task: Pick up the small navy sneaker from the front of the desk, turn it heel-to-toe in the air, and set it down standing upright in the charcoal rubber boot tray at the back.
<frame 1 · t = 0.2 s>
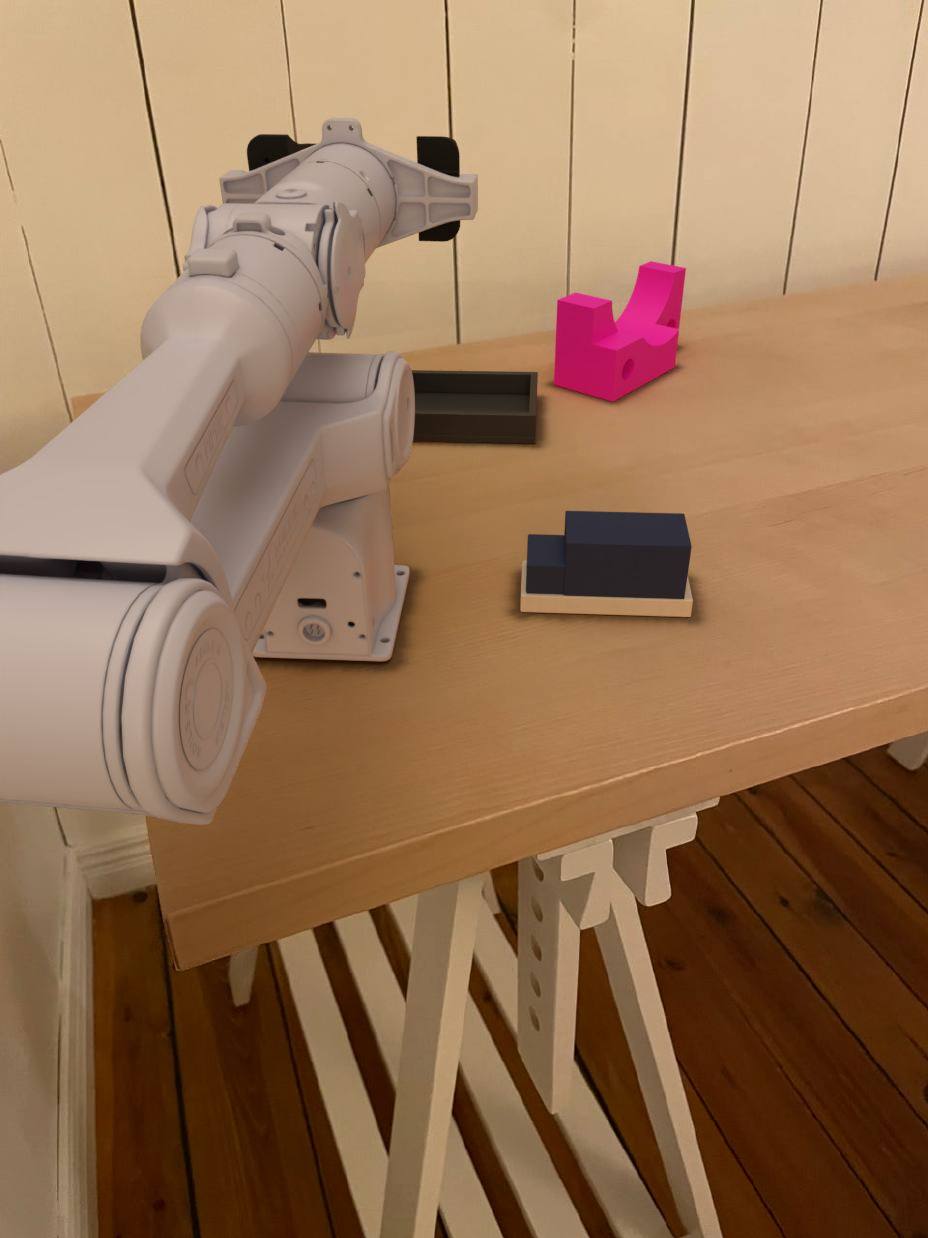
hand: (377, 162, 62), 21 cm above the table, tool horizontal, fingers open, 7 cm apart
boot tray: (444, 418, 81), on the table
toy block: (629, 370, 90), on the table
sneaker: (603, 596, 59), on the table
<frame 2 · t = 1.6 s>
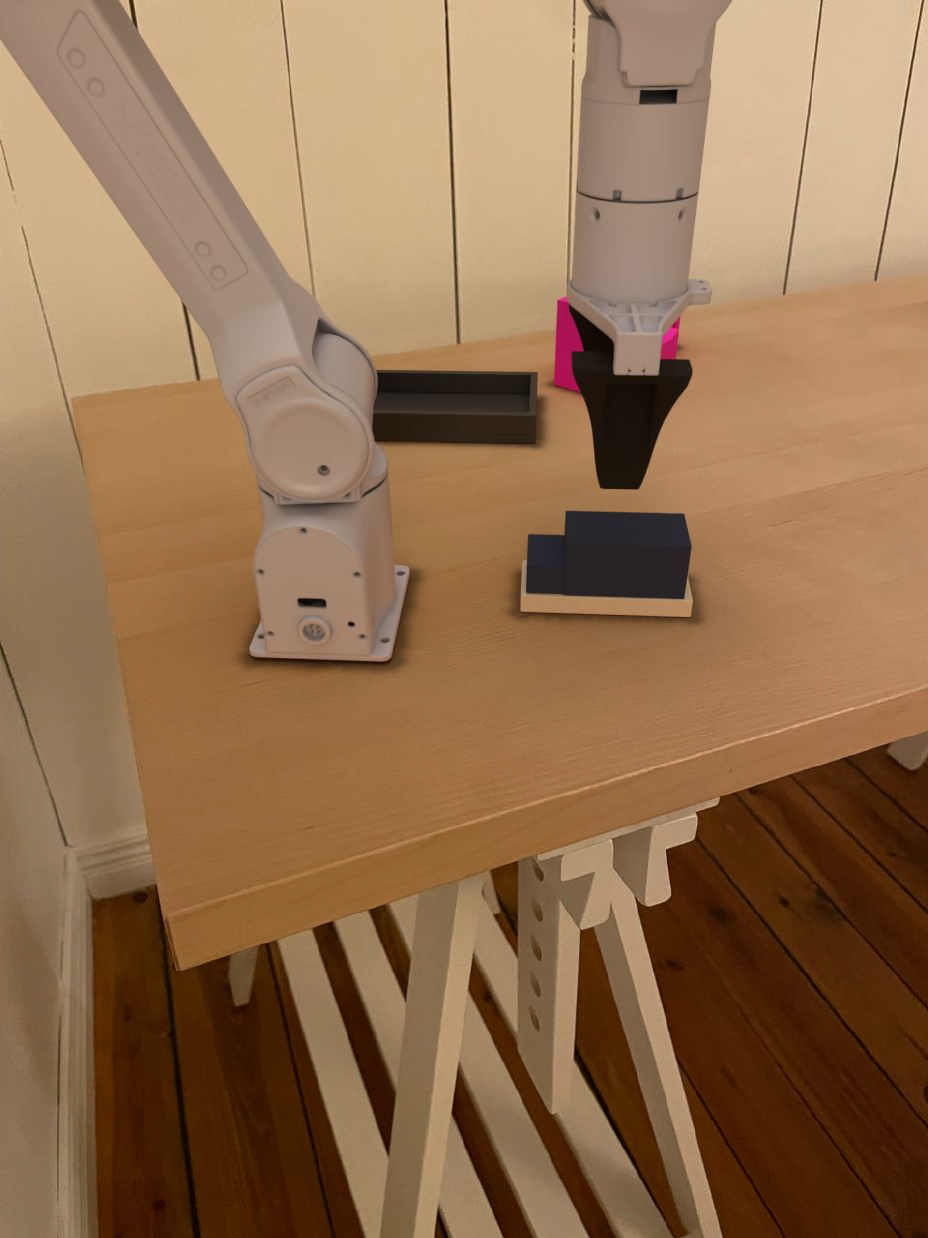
hand: (615, 454, 54), 9 cm above the table, tool pointing down, fingers open, 7 cm apart
nothing on the table moved.
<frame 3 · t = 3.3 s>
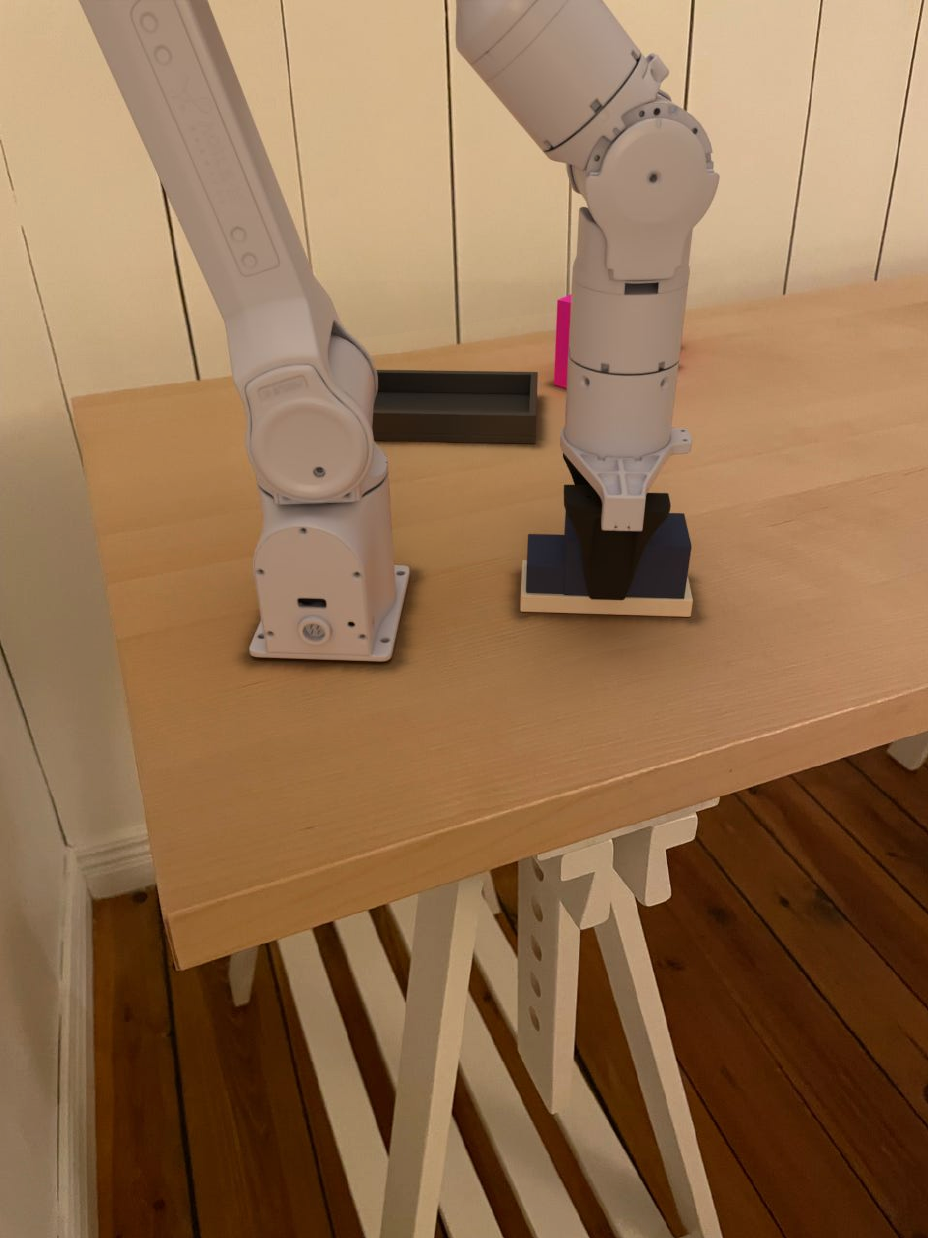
hand: (605, 576, 58), 1 cm above the table, tool pointing down, fingers closed on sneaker, 4 cm apart
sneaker: (603, 595, 59), on the table, touching gripper
everything else where it was.
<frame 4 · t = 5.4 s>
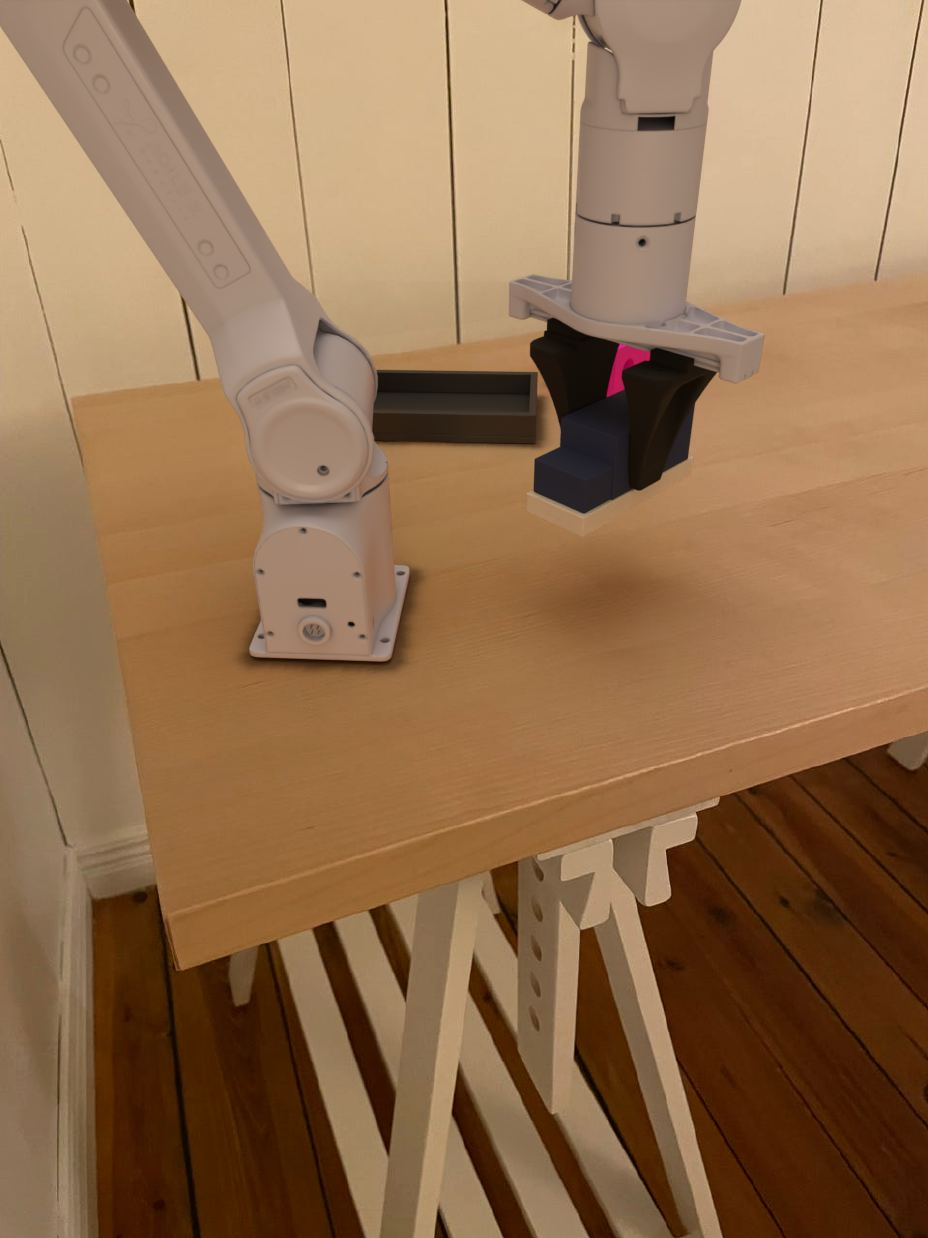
hand: (613, 470, 54), 8 cm above the table, tool pointing down, fingers closed on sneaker, 4 cm apart
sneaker: (611, 493, 55), point 7 cm above the table, touching gripper
everything else where it was.
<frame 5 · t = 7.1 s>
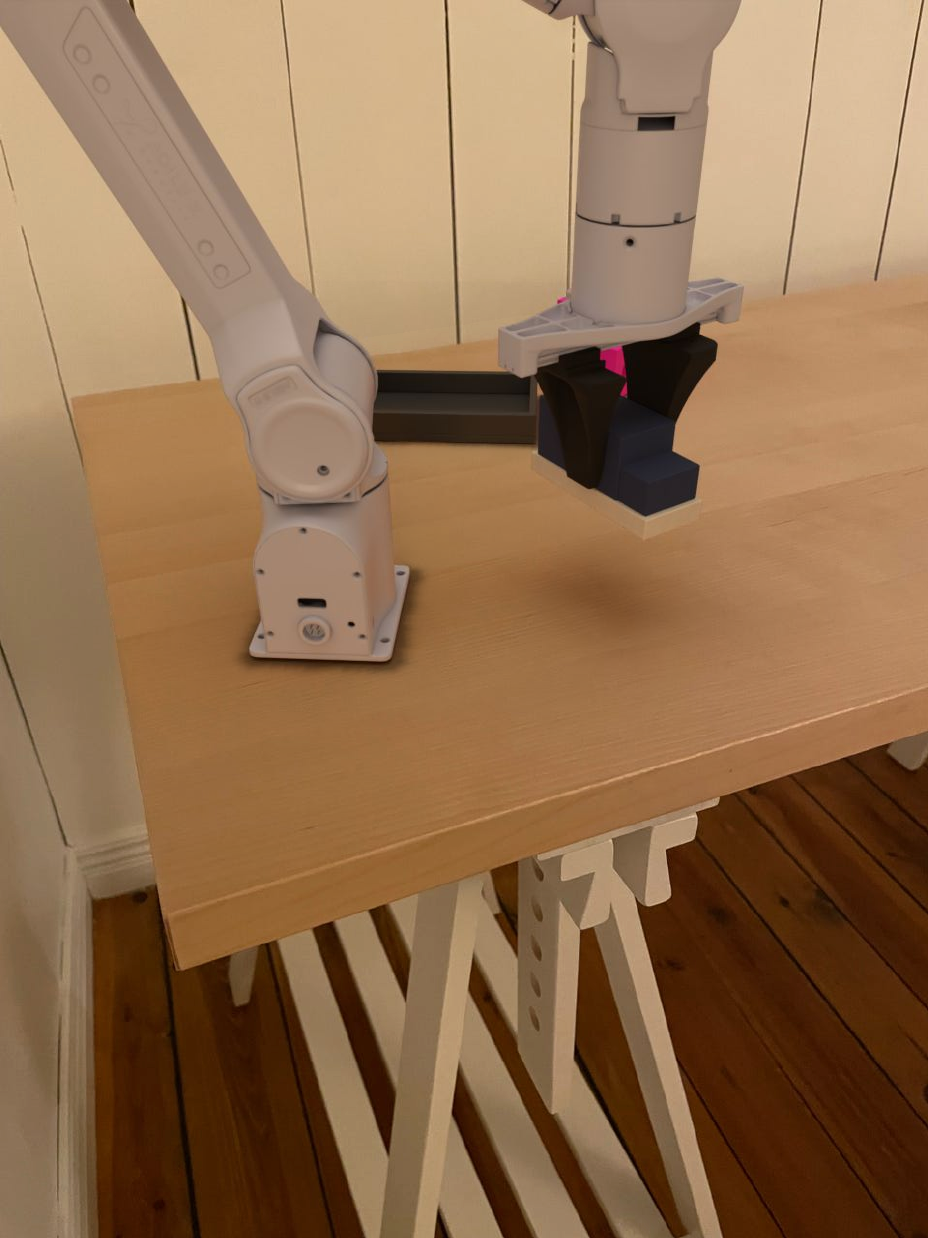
hand: (613, 470, 54), 8 cm above the table, tool pointing down, fingers closed on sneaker, 4 cm apart
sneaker: (611, 493, 55), point 7 cm above the table, touching gripper
everything else where it was.
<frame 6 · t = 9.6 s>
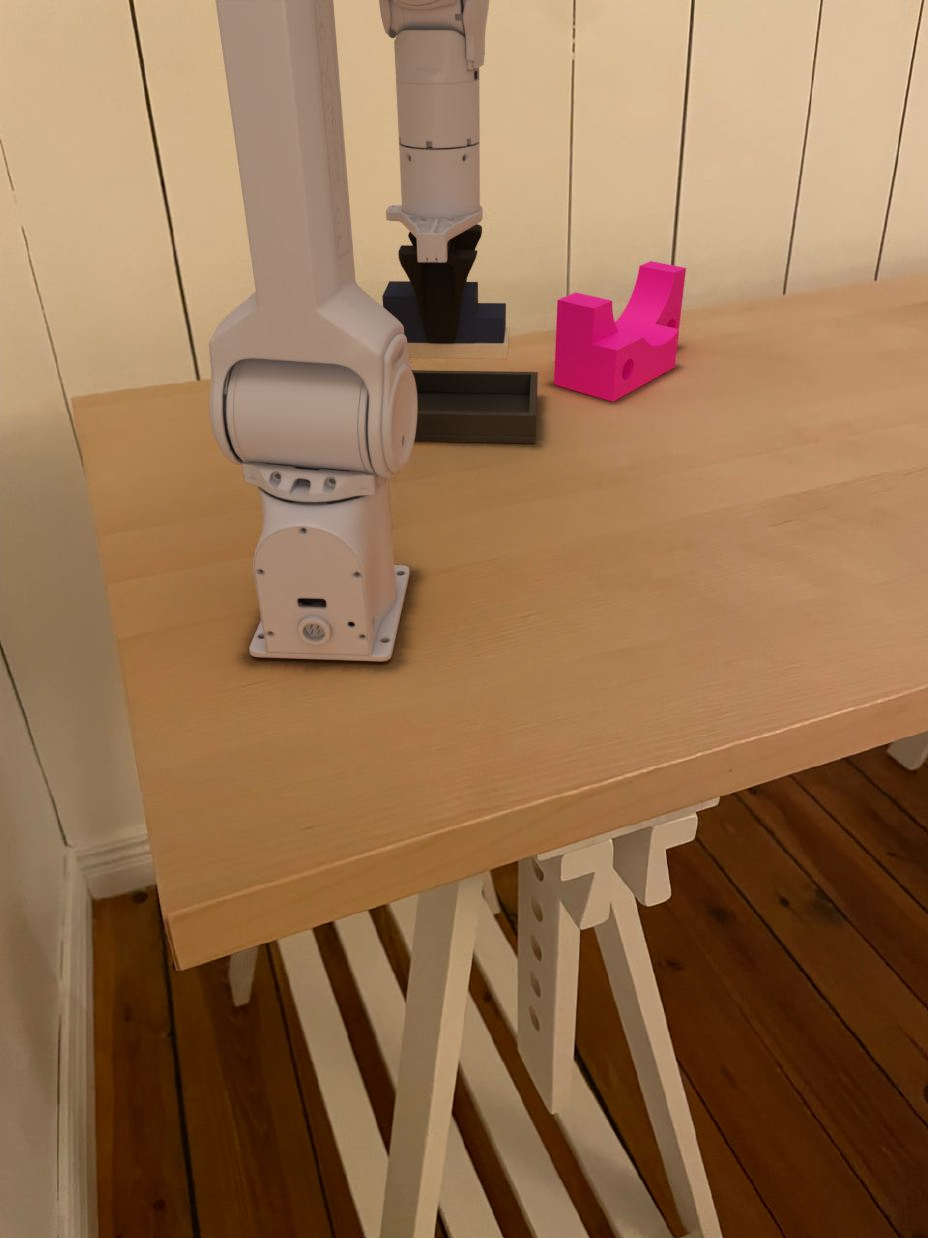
hand: (444, 332, 77), 7 cm above the table, tool pointing down, fingers closed on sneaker, 4 cm apart
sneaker: (445, 349, 77), point 6 cm above the table, touching gripper
everything else where it was.
when the fingers open (2 cm above the table, at t = 11.9 s): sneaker stays where it is, resting on boot tray.
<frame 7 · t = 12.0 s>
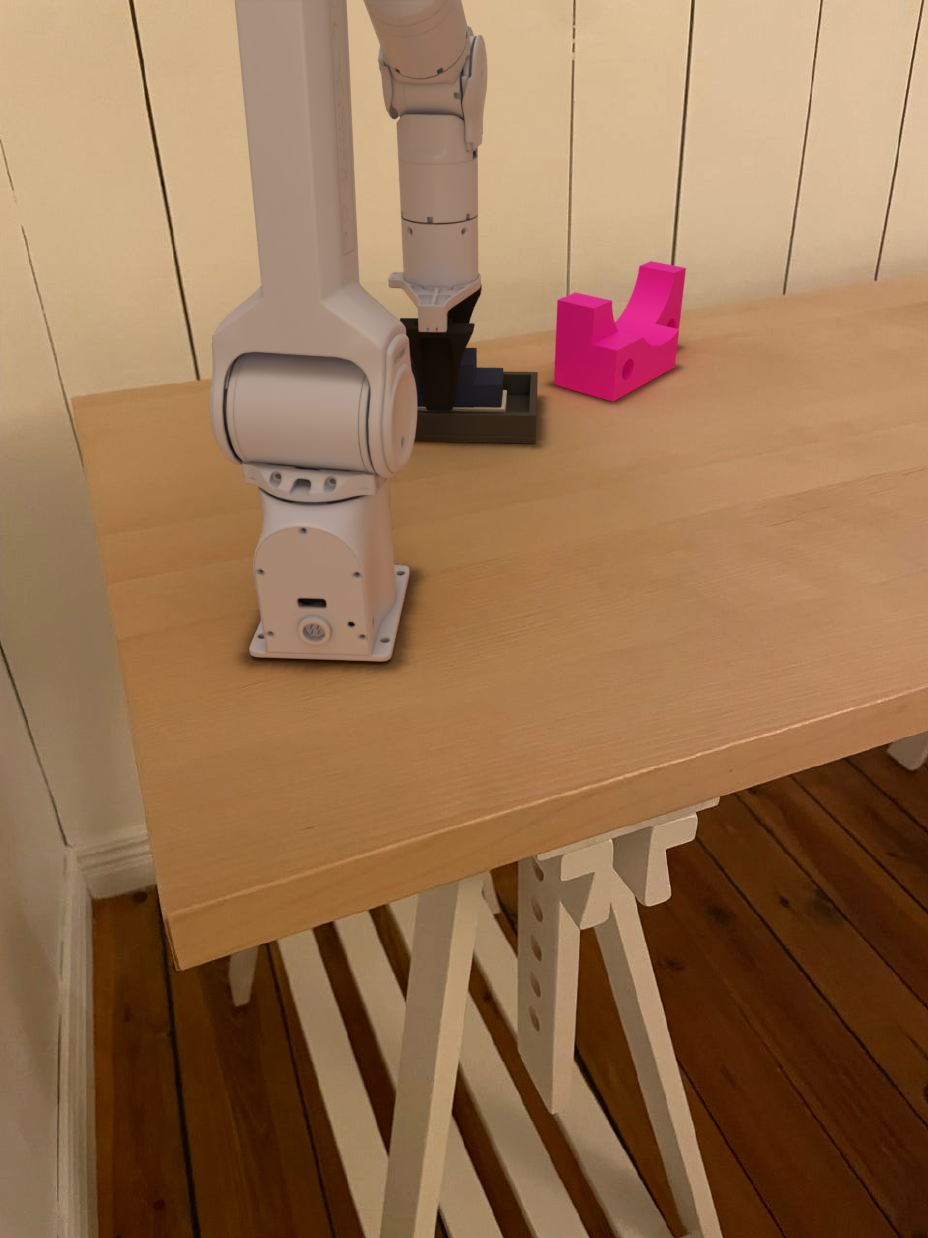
hand: (444, 390, 80), 2 cm above the table, tool pointing down, fingers open, 7 cm apart
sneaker: (445, 411, 81), point 1 cm above the table, touching boot tray
everything else where it was.
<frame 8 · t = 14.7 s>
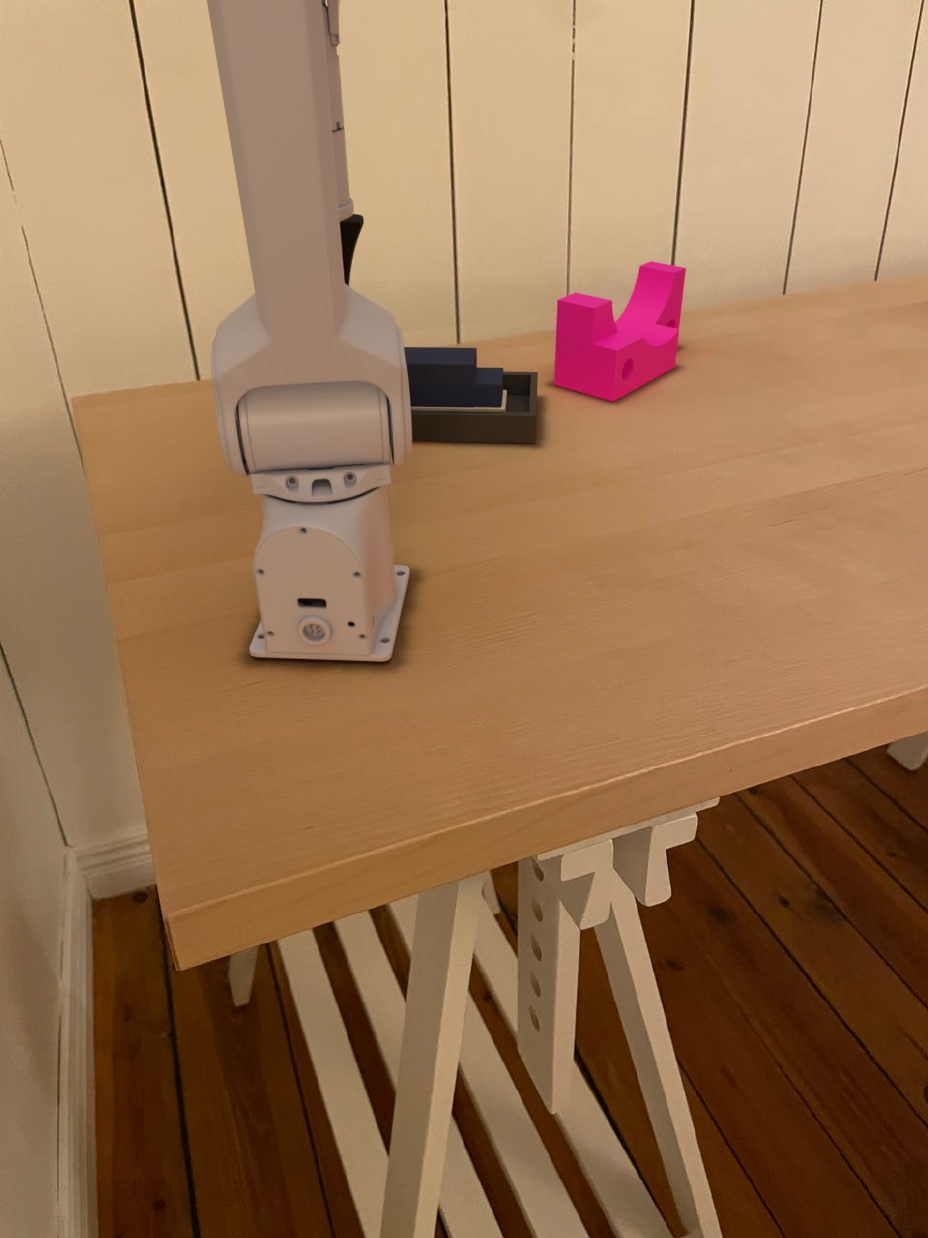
hand: (320, 338, 70), 9 cm above the table, tool pointing down, fingers open, 7 cm apart
nothing on the table moved.
at the end: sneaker inside the target area in the boot tray (0.1 cm from its centre), point 0.6 cm above the boot tray's base; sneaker tilted 0°; the gripper is holding nothing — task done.
